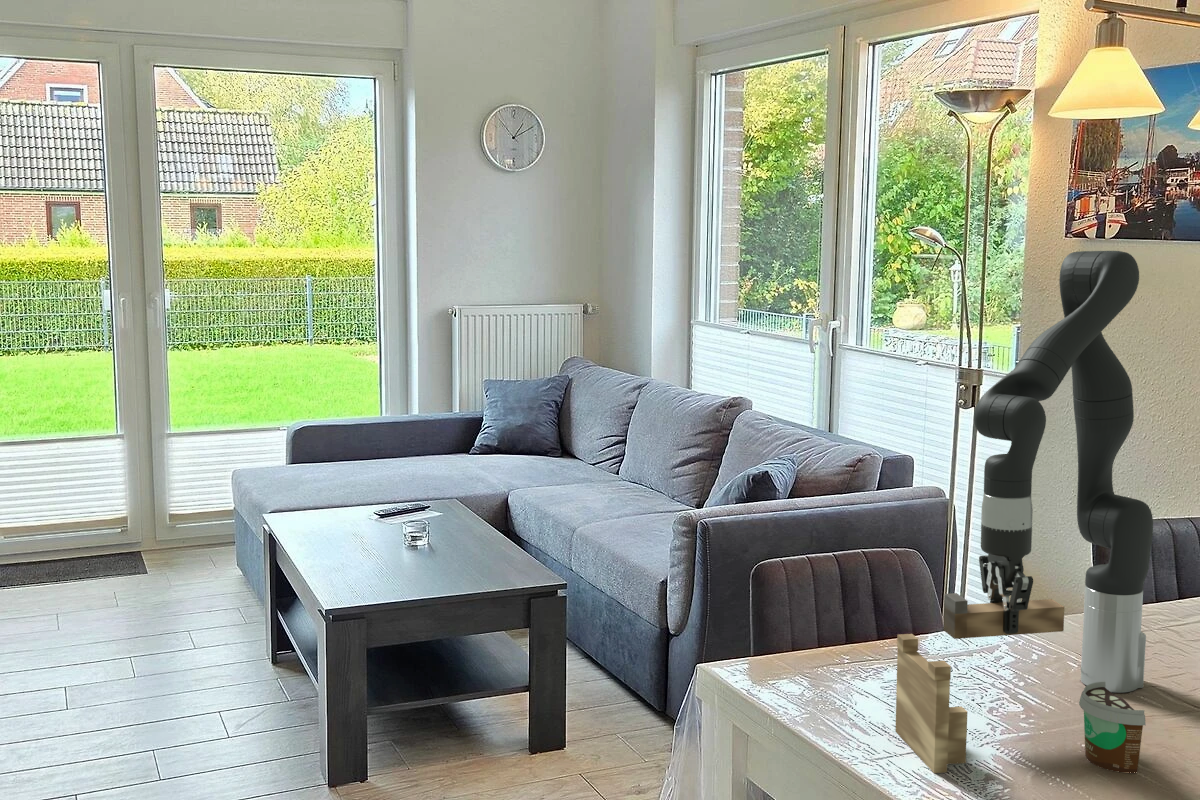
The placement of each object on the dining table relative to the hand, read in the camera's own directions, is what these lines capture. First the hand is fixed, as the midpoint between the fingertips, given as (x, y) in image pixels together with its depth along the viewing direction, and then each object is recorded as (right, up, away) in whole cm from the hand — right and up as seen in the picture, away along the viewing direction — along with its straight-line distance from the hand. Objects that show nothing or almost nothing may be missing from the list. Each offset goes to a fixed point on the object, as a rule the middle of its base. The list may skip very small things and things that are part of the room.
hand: (1003, 627), depth 190 cm
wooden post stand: (-13, -17, -7) cm, 23 cm away
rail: (0, -1, 0) cm, 1 cm away
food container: (+11, -18, -10) cm, 24 cm away
